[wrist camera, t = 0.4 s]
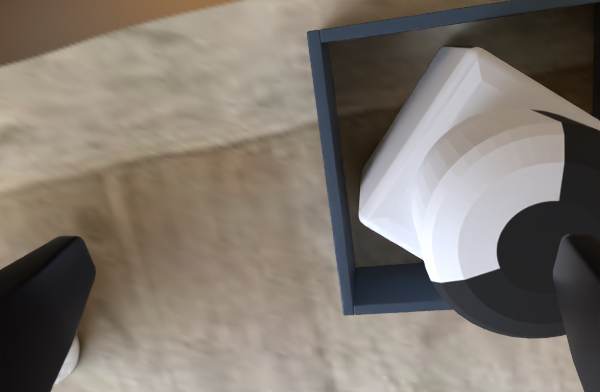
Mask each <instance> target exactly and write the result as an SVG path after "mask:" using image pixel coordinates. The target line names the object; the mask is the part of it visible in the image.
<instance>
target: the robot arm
mask: <svg viewBox="0 0 600 392" xmlns="http://www.w3.org/2000/svg"><path fill="white" fill-rule="evenodd" d="M95 275H96V270H95V265H94V263H93V261H92V258H91V256H90V254H89V251H88V249H87V247H86V244H85V242H84V240H83V239H82V238H81V237H79V236H59V237H57V238H55V239H53V240H51V241H50V242H48V243H46V244H44V245H43V246H41V247H39V248H38V249H36V250H34V251H32V252H31V253H29V254H27V255H25V256H24V257H22V258H20V259H18V260H17V261H15V262H13V263H11V264H10V265H8V266H6V267H4V268H3V269H1V270H0V392H51V390H52V387H53V385H54V383H55V381H56V379H57V377H58V375H59V372H60V370H61V368H62V366H63V364H64V362H65V359H66V357H67V355H68V353H69V350H70V348H71V346H72V343H73V341H74V338H75V335H76V332H77V330H78V327H79V324H80V321H81V318H82V315H83V312H84V309H85V306H86V303H87V300H88V297H89V294H90V292H91V289H92V286H93V283H94V280H95ZM553 282H554V286H555V290H556V294H557V299H558V303H559V307H560V311H561V315H562V319H563V323H564V327H565V331H566V335H567V339H568V343H569V347H570V351H571V355H572V358H573V362H574V365H575V367H576V370H577V373H578V376H579V379H580V381H581V384H582V386H583V389H584V392H600V241H599V240H598V239H596V238H595V237H593V236H591V235H587V234H568V235H565V236H564V237H563V238H562V240H561V242H560V246H559V250H558V254H557V258H556V262H555V265H554V270H553Z"/></svg>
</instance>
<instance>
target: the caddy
mask: <svg viewBox="0 0 600 392" xmlns="http://www.w3.org/2000/svg"><path fill="white" fill-rule="evenodd" d="M595 3H596V14H595V55H594V97H593V117H594V118H596V119H598V120H599V121H600V0H511V1H504V2H498V3H491V4H485V5H478V6H471V7H465V8H458V9H452V10H445V11H439V12H432V13H426V14H419V15H413V16H406V17H399V18H393V19H386V20H380V21H373V22H367V23H360V24H354V25H347V26H340V27H334V28H327V29H321V30H314V31H308V32H307V38H308V45H309V53H310V61H311V68H312V76H313V84H314V91H315V99H316V107H317V115H318V122H319V130H320V138H321V145H322V153H323V161H324V168H325V176H326V184H327V192H328V199H329V207H330V215H331V222H332V230H333V238H334V245H335V253H336V261H337V269H338V276H339V284H340V292H341V299H342V307H343V314H344V315H354V314H355V315H361V314H379V313H398V312H416V311H434V310H452V308H451V307H450V306H449V305H448V304H447V303H446V302H445V301H444V299H443V298H442V297H441V296H440V294H439V293H438V292H437V290H436V288H435V287H434V285H433V283H432V282H431V280H430V277H429V275H428V272H427V270H426V267H425V263H416V264H402V265H388V266H374V267H360V268H356V267H355V259H354V250H353V242H352V233H351V225H350V217H349V208H348V200H347V191H346V183H345V175H344V166H343V158H342V149H341V141H340V132H339V124H338V116H337V107H336V99H335V90H334V82H333V74H332V65H331V57H330V48H329V43H331V42H338V41H345V40H352V39H358V38H365V37H372V36H379V35H385V34H392V33H399V32H406V31H412V30H419V29H426V28H433V27H439V26H446V25H453V24H460V23H467V22H473V21H480V20H487V19H494V18H500V17H507V16H514V15H521V14H527V13H534V12H541V11H548V10H555V9H561V8H568V7H575V6H582V5H588V4H595Z"/></svg>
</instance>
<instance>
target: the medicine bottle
mask: <svg viewBox="0 0 600 392" xmlns="http://www.w3.org/2000/svg"><path fill="white" fill-rule="evenodd" d="M359 219H360V221H361V222H362V223H363V224H364V225H365V226H367V227H369V228H370V229H372V230H374V231H375V232H377V233H379V234H380V235H382V236H384V237H385V238H387V239H389V240H390V241H392V242H394V243H395V244H397V245H399V246H401V247H402V248H404V249H406V250H407V251H409V252H411V253H412V254H414V255H416V256H417V257H419V258H421V259H422V260H424V263H425V267H426V270H427V272H428V275H429V277H430V280H431V282H432V283H433V285H434V287H435V288H436V290H437V292H438V293H439V294H440V296H441V297H442V298H443V299H444V301H445V302H446V303H447V304H448V305H449V306H450V307H451V308H452V309H453V310H455V311H456V312H457V313H458V314H459V315H461V316H462V317H464V318H465V319H467V320H468V321H470V322H471V323H473V324H475V325H477V326H479V327H481V328H483V329H486V330H489V331H492V332H495V333H498V334H502V335H507V336H511V337H519V338H549V337H556V336H562V335H566V331H565V327H564V323H563V319H562V315H561V311H560V307H559V303H558V299H557V294H556V290H555V286H554V282H553V270H554V265H555V262H556V258H557V254H558V250H559V246H560V242H561V240H562V238H563V237H564V236H565V235H568V234H587V235H591V236H593V237H595V238H596V239H598V240H599V241H600V121H599V120H598V119H596V118H594V117H593V116H591V115H590V114H588V113H586V112H585V111H583V110H581V109H580V108H578V107H577V106H575V105H573V104H572V103H570V102H569V101H567V100H565V99H564V98H562V97H560V96H559V95H557V94H556V93H554V92H552V91H551V90H549V89H547V88H546V87H544V86H543V85H541V84H539V83H538V82H536V81H534V80H533V79H531V78H530V77H528V76H526V75H525V74H523V73H521V72H520V71H518V70H517V69H515V68H513V67H512V66H510V65H508V64H507V63H505V62H504V61H502V60H500V59H499V58H497V57H495V56H494V55H492V54H491V53H489V52H487V51H486V50H484V49H482V48H479V47H470V46H448V45H447V46H443V47H442V48H441V49H439V51H438V52H437V54H436V55H435V57H434V58H433V60H432V62H431V63H430V65H429V66H428V68H427V69H426V71H425V72H424V74H423V76H422V77H421V79H420V80H419V82H418V83H417V85H416V86H415V88H414V89H413V91H412V93H411V94H410V96H409V97H408V99H407V100H406V102H405V103H404V105H403V107H402V108H401V110H400V111H399V113H398V114H397V116H396V117H395V119H394V120H393V122H392V124H391V125H390V127H389V128H388V130H387V131H386V133H385V134H384V136H383V137H382V139H381V141H380V142H379V144H378V145H377V147H376V148H375V150H374V151H373V153H372V155H371V156H370V158H369V159H368V161H367V162H366V164H365V165H364V167H363V168H362V171H361V185H360V202H359Z"/></svg>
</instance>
